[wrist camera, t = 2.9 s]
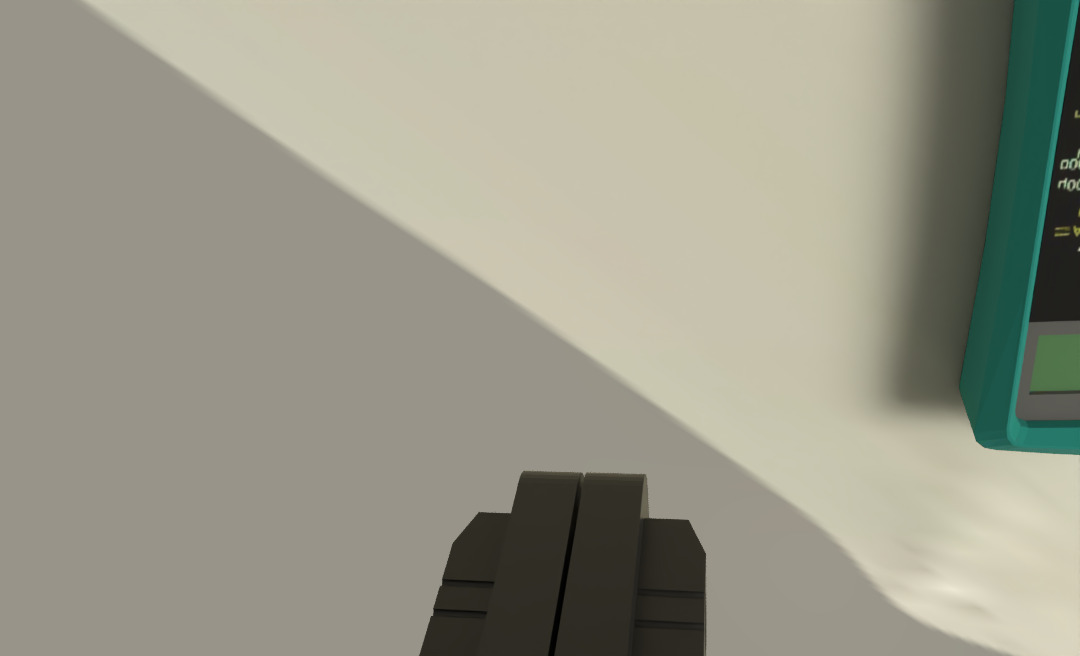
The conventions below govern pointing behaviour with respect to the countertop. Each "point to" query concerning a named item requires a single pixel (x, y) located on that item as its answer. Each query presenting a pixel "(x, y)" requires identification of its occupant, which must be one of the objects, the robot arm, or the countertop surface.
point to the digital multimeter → (1032, 249)
